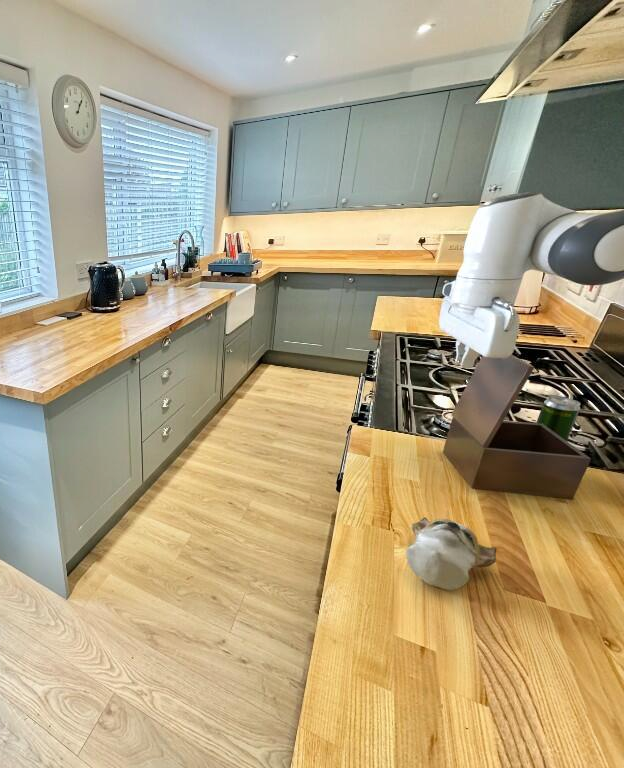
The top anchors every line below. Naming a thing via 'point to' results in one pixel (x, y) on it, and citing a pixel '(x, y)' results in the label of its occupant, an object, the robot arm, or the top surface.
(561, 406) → the beer can
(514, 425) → the keepsake box
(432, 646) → the top surface
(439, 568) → the ceramic sculpture
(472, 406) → the box lid
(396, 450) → the top surface
